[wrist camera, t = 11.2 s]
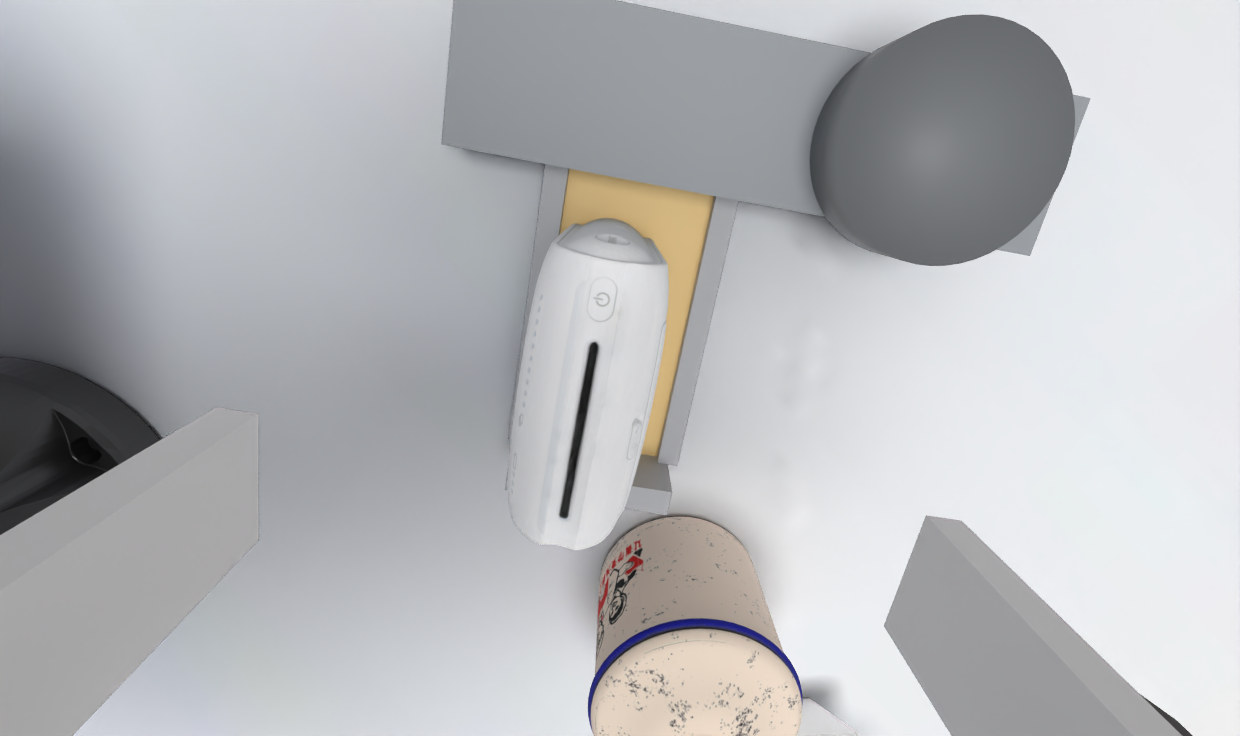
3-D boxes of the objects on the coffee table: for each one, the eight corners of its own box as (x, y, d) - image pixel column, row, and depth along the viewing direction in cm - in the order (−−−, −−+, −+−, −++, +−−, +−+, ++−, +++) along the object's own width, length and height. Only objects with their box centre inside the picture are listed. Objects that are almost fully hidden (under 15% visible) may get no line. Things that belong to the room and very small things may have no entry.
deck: (436, 438, 31) (389, 505, 24) (481, -32, 24) (434, -104, 18) (884, 510, 32) (949, 591, 26) (1037, 84, 26) (1172, 54, 19)
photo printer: (567, 206, 27) (528, 229, 15) (661, 224, 27) (695, 262, 15) (534, 416, 30) (480, 572, 18) (619, 431, 30) (620, 594, 18)
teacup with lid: (605, 500, 32) (598, 673, 21) (772, 518, 32) (853, 698, 21) (581, 677, 36) (564, 905, 24) (732, 692, 36) (783, 923, 25)
